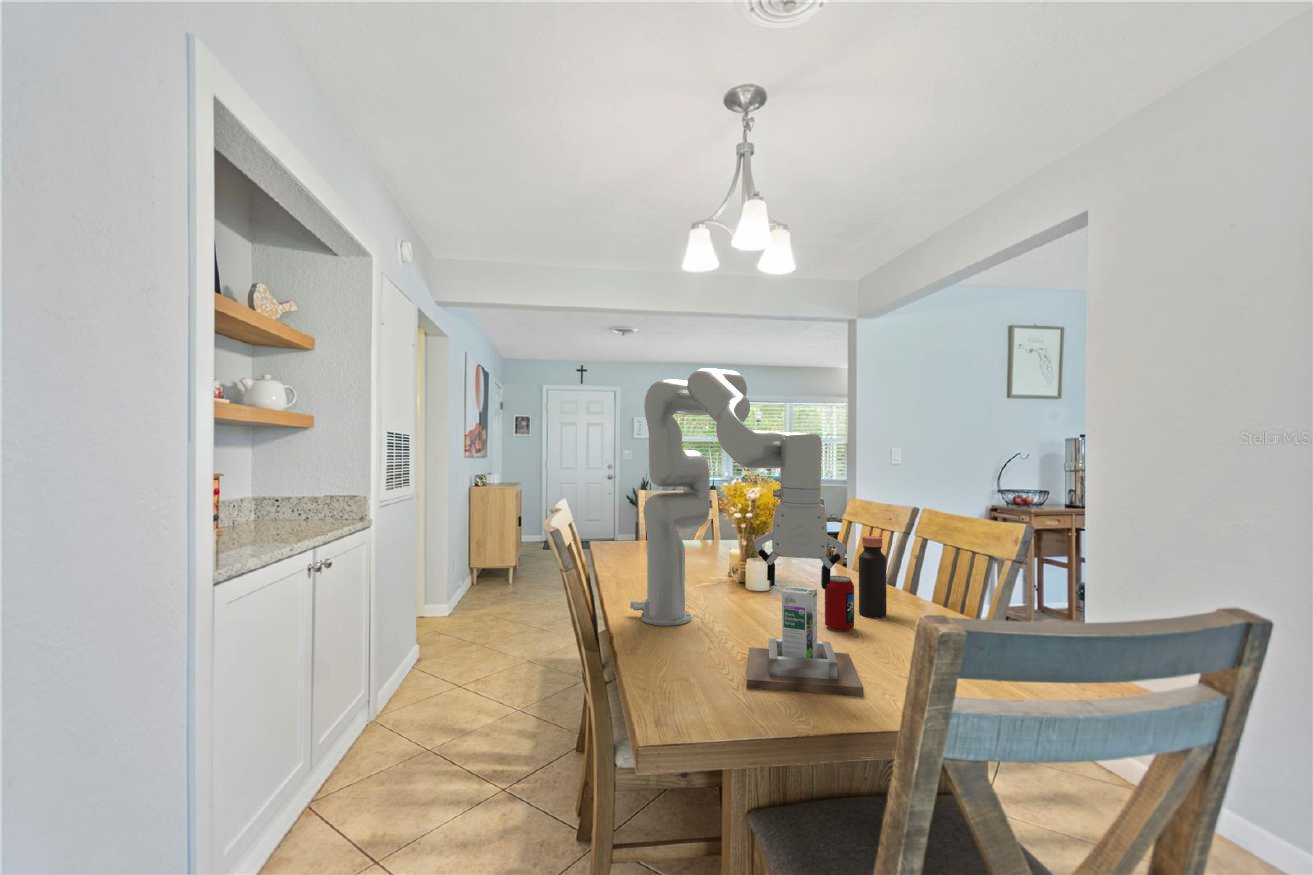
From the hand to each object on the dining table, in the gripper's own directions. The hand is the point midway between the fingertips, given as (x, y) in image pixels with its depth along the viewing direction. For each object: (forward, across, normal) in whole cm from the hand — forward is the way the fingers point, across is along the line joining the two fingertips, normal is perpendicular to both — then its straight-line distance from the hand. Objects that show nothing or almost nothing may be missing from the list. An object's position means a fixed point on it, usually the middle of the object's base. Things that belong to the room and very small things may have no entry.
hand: (798, 586), depth 117 cm
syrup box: (+15, +1, -1) cm, 15 cm away
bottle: (+17, +22, +45) cm, 53 cm away
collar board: (+16, +1, -1) cm, 16 cm away
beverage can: (+17, +12, +31) cm, 37 cm away
